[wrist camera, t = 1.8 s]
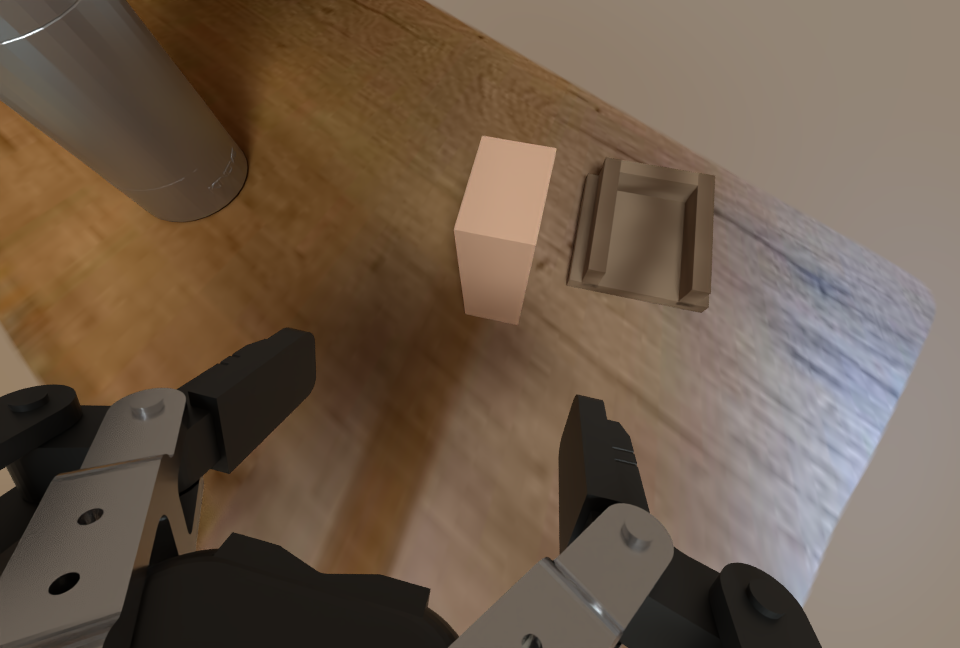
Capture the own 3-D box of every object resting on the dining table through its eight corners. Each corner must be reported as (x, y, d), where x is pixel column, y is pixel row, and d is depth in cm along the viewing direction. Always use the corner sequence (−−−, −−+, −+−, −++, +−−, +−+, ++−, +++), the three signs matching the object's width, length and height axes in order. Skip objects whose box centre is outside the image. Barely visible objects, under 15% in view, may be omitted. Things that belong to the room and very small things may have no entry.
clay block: (465, 313, 29) (453, 229, 19) (483, 246, 31) (482, 135, 21) (517, 325, 29) (535, 245, 18) (532, 255, 31) (556, 148, 20)
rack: (566, 285, 30) (575, 266, 27) (585, 181, 33) (594, 155, 30) (701, 312, 29) (724, 295, 26) (705, 203, 32) (727, 177, 29)
